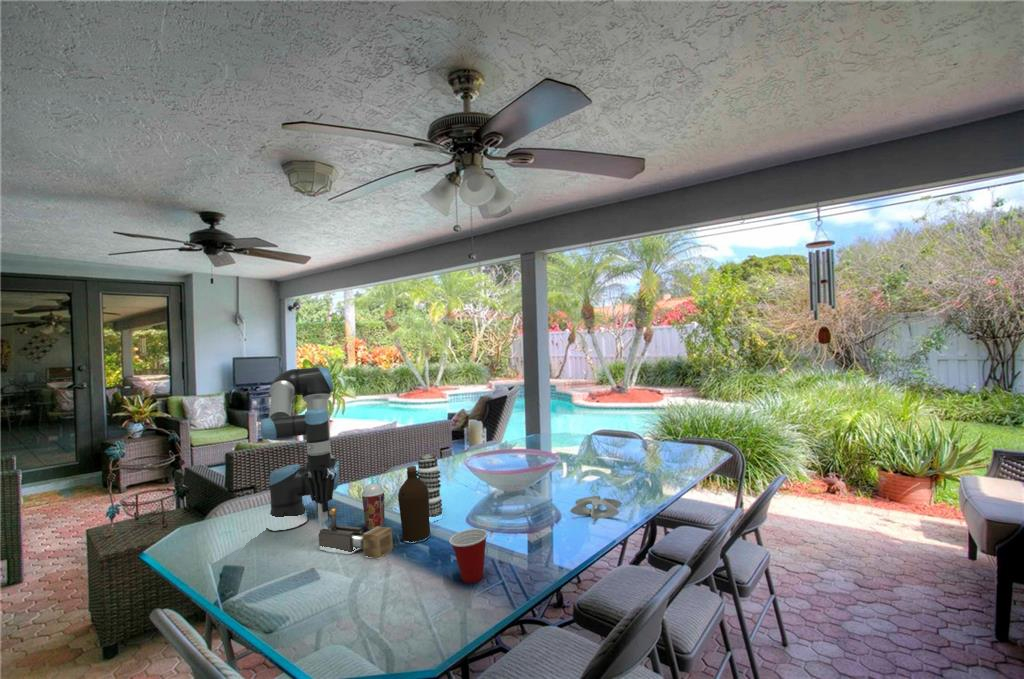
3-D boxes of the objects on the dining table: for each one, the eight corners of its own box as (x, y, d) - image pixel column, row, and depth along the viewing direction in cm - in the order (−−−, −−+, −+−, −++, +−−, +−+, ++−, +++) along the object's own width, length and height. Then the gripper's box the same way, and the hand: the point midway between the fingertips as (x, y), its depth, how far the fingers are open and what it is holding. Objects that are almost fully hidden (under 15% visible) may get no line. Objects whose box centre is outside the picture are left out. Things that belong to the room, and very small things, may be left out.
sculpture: (604, 529, 157) (602, 510, 157) (560, 517, 172) (559, 499, 172) (633, 514, 168) (632, 496, 169) (590, 504, 183) (589, 488, 184)
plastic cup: (449, 574, 133) (446, 532, 133) (486, 566, 136) (482, 525, 136) (455, 591, 122) (452, 546, 123) (495, 582, 125) (491, 538, 126)
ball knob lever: (324, 545, 159) (322, 509, 159) (333, 541, 162) (330, 505, 163) (360, 550, 152) (357, 512, 153) (368, 545, 156) (365, 508, 156)
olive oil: (428, 543, 157) (423, 469, 158) (397, 545, 157) (392, 471, 158) (434, 531, 167) (429, 462, 168) (405, 533, 167) (400, 464, 168)
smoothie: (391, 526, 177) (387, 473, 178) (376, 534, 169) (372, 479, 170) (374, 524, 180) (371, 472, 181) (359, 532, 173) (355, 478, 173)
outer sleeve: (319, 550, 158) (318, 530, 158) (333, 543, 164) (332, 524, 164) (350, 555, 152) (349, 534, 152) (364, 547, 158) (363, 527, 158)
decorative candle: (415, 522, 178) (410, 457, 179) (428, 514, 187) (423, 452, 188) (435, 524, 175) (430, 457, 176) (448, 515, 183) (443, 452, 184)
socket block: (364, 557, 149) (362, 534, 150) (378, 548, 156) (377, 526, 156) (378, 559, 147) (377, 535, 147) (393, 550, 153) (391, 527, 154)
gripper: (296, 455, 162) (301, 523, 161) (324, 455, 156) (328, 526, 155) (314, 450, 168) (318, 516, 167) (340, 451, 163) (345, 518, 162)
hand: (323, 520), depth 161 cm, fingers closed
